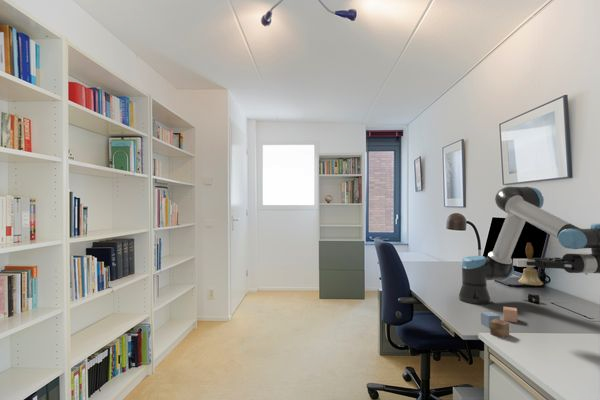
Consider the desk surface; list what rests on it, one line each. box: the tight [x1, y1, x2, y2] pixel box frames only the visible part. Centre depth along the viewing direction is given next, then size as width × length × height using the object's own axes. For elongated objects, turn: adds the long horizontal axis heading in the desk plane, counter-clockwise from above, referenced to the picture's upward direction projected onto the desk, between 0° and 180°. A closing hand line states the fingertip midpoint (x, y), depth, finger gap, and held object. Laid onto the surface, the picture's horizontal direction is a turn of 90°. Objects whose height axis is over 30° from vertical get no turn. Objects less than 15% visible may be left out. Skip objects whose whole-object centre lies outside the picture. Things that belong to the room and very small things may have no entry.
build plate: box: [523, 293, 546, 306], centre depth 176 cm, size 12×7×5 cm, turn 16°
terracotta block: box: [502, 306, 518, 323], centre depth 147 cm, size 5×5×5 cm
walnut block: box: [489, 319, 510, 339], centre depth 130 cm, size 5×5×5 cm
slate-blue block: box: [480, 311, 501, 329], centre depth 140 cm, size 5×5×5 cm
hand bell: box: [517, 242, 544, 286], centre depth 131 cm, size 8×8×16 cm
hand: (515, 262), depth 132 cm, fingers closed on hand bell, 2 cm apart
